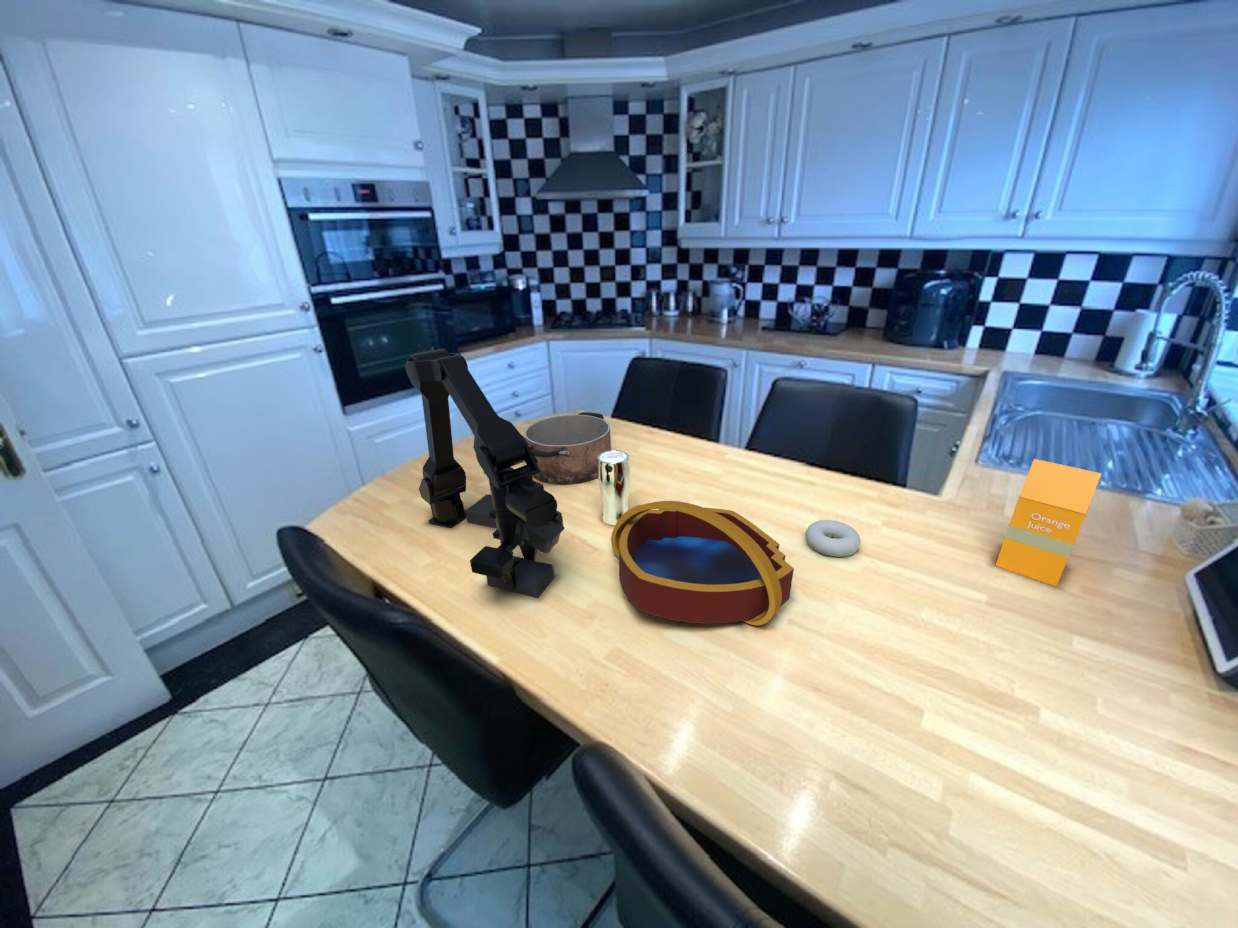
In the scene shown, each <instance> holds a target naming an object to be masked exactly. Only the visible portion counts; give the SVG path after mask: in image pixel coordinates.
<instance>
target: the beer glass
mask: <svg viewBox="0 0 1238 928" xmlns="http://www.w3.org/2000/svg"><path fill="white" fill-rule="evenodd" d="M631 477H632V475H631V461H630V455H629V453H628V452H626V451H624V450H619V449H618V450H617V449H613V450H612V449H611V451H605V452H603V453H601V454H599V455H598V478H597V482H598V486H599V490H600V495H601V498H602V503H603V504H602V505H603V511H602V521H603V523H605V524H607V525H609V526H615V525H616V523H617V521H618V520H619V519H620V517H621V516H622V515H623V514H624V513H625V512H627V511H628V510H630V508H629V494H630V488H631V481H632V478H631Z"/></svg>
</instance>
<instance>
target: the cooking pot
mask: <svg viewBox="0 0 1238 928" xmlns="http://www.w3.org/2000/svg"><path fill="white" fill-rule="evenodd" d="M523 437H524V438H525V440H526V441H527V443H528V445H529V447H530V448H531V450H532V452H533V453H534V455H535V457H536V459H537V460H538V463H537V465H538V467H539V469H540V473H539V474H536V475H533V478H535V479H536V480H538V481H541V482H544V483H547V484H552V485H576V484H581V483H587V482H589V481H593V480H596V479H598V455H599V454H601V453H603V452H605V451H611V450H612V443H611V442H612V440H611V426H610V424H609V422H608V421H607V420H605V419H604V415H603V414H602V413H598V412H591V411H583V412H579V413H578V414H561V415H556V416H550V417H546V418H543V419H540V420H537V421H535V422H533V423H532V424H529V426H527V427H526V429H525V430H524V433H523Z"/></svg>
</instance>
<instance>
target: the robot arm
mask: <svg viewBox="0 0 1238 928" xmlns="http://www.w3.org/2000/svg"><path fill="white" fill-rule="evenodd" d="M404 367H405V372H406V375H407V377H408V379H409V381H410V383H411V385H412V386H413V387H414V388H415V389H416V390H417V391H418V393H419V394H420V395H421V400H422V401H421V402H422V410H423V417H424V426H425V435H426V442H427V449H428V458H427V459H426V461H425V463H424V464H423V466H422V478H421V480H420V484H419V488H418V491H419V494H420V498H422V499H423V500H424V501H425V502H426V503H427V504H428V505H430V510H431V515H432V517H431V518H430V519H429V520H428V524H430V525H436V526H441V527H446V528H449V529H450V528H453V527H455V526H456V525H457V524H458V523H460V522H461V521H463V520H464V519H465V518H466V513H465V511H466V510H465V506H464V502H463V500H462V496H461V494H462V493H465V492H467V472H466V471H465V469H464V468H463V466H462V465H461V463H460V462H458V461H457V460H456V459H455V456H454V455H455V454H454V445H453V444H454V443H453V434H452V423H451V413H450V411H451V410H450V401H449V397H450V398H451V399H452V401H453V403H454V404H455V406H456V408H457V410H458V411H459V413H460V414H461V415H462V417H463V419H464V421H465V422H466V423H467V426H468V428H470V430H471V432H472V434H473V451H474V453H475V458H476V460H477V463H478V465H479V466H480V468H481V469H482V471H483V474H484V475H485V476H486V477H487V479H488V485H489V491H490V495H491V496H492V502H493V508H494V509H493V510H492V511H490V512H489V516H490V518H493V519H496V525H497V528H496V529H495V530H494V531H493V532H492V538H493V539H496V540H499V546H498V547H493V546H489V545H484V546H483V548H481V549H480V550H479V551H478V552H477V553H476V554H475V555H473V557H472V558H471V559H469V564H470V568H471V572H472V573H474V574H478V575H482V576H485V577H486V576H489V577H493V578H497V579H499V578H501V579H502V580H503V581H504V582H505V583H506V585H507V586H508V587H509V588H511V589H515V585H516V580H515V567H516V566H517V565H518V564H519V563H520V561H518V560H514V557H513V556H515V555H514V553H515V550H517V548H518V547H519V549H520V551H521V554H522V558H525V559H529V560H534V561H536V559H537V553H538V551H539V553H540V554H549V553H550V552H551V551H552V549H553V548H554V547H555V546H556V545H557V544H558V543H559V539H560V537H561V533H562V532H563V531H565V526H564V519H563V514H562V512H561V511H559V510H557V509H558V500H557V499H556V498H555V496H554V495H553V494H552V493H550V492H549V491H547V490H546V489H545V487H544V484H542V483H541V482H537V481H535V480H534V476H533V475H536V474H539V473H540V469H539V467H538V465H537V463H538V460H537V459H536V457H535V455H534V453H533V452H532V450H531V448H530V447H529V445H528V443H527V441H526V440H525V436H524V435H522V434H521V432H520V431H519V430H518V429H517V427H516V426H515V425H514V424H513V423H512V422H511V421H509V420H507V419H505V418H503V417H500V416H499V415H498V413H497V412H496V411H495V409H494V407H493V406H492V405H491V403H490V402H489V400H488V398H487V397H486V395H485V394H484V392H483V391H482V388H481V387H480V386H479V384H478V382H477V381H476V379H475V378H474V377H473V375H472V373H471V372H470V370H469V366H468V362H467V360H466V358H465V357H464V356H463V355H462V354H460V353H459V352H458V353H455V352H453V353H452V352H449V351H448V350H446V348H438V349H433V350H428V351H423V352H417V353H413V354H410V355H409V357H407V359H406V362H405V365H404ZM523 463H524V464H525V465H521V466H520V467H517V468H514V467H515V466H517V465H520V464H523Z"/></svg>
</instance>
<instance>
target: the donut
mask: <svg viewBox="0 0 1238 928" xmlns="http://www.w3.org/2000/svg"><path fill="white" fill-rule="evenodd" d="M805 540H806V542H807V544H808V546H810V547H811V548H812V549H814V550H815V551H816V552H818V553H820V554H822V555H826V556H829V557H847V556H850V555H853V554H855V553H856V552H857V551H858V550H859V548H860V545H861V537H860V534H859V533H858V532H857V530H856V529H855V528H853V527H852V526H851V525H849V524H847V523H844V522H842V521H838V520H832V519H823V520H818V521H815V522H813V523H811V524H809V525H808V527H807V528H806V530H805Z"/></svg>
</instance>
